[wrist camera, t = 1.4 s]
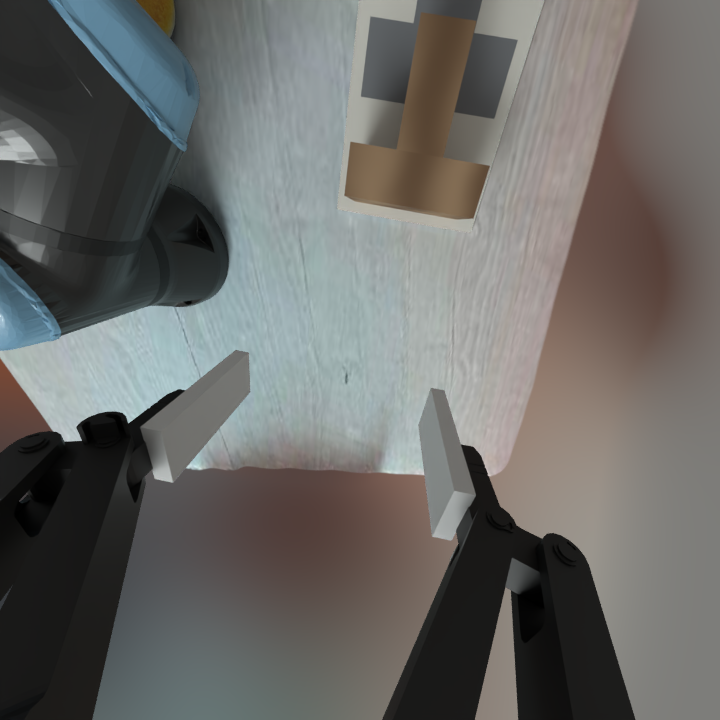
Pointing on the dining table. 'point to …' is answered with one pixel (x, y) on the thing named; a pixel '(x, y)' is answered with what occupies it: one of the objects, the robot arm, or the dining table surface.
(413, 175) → the t block
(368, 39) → the mat
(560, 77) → the dining table surface
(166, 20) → the bread roll
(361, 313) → the dining table surface
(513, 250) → the dining table surface
